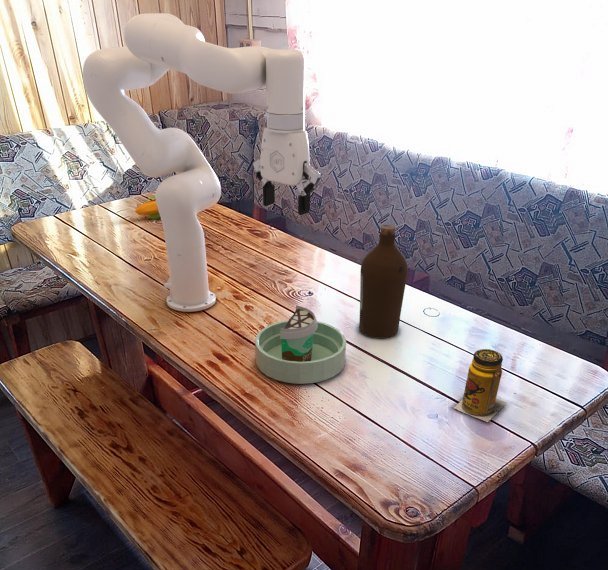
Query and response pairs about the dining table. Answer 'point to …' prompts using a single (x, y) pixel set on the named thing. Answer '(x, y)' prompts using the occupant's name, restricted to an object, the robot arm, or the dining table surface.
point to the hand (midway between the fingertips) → (286, 209)
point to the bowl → (321, 367)
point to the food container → (298, 336)
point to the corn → (149, 209)
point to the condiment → (482, 386)
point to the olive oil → (382, 287)
